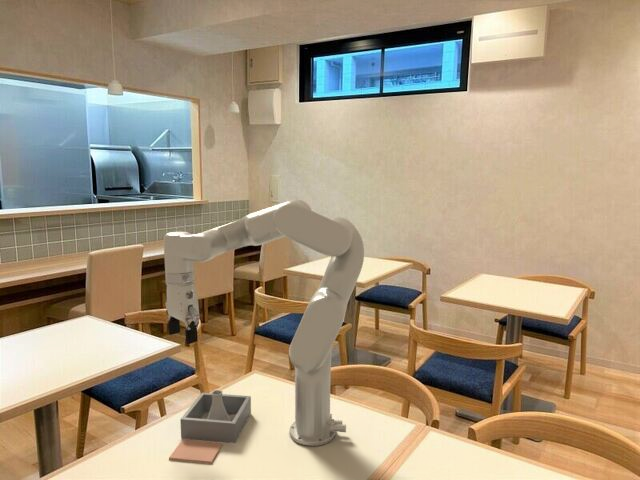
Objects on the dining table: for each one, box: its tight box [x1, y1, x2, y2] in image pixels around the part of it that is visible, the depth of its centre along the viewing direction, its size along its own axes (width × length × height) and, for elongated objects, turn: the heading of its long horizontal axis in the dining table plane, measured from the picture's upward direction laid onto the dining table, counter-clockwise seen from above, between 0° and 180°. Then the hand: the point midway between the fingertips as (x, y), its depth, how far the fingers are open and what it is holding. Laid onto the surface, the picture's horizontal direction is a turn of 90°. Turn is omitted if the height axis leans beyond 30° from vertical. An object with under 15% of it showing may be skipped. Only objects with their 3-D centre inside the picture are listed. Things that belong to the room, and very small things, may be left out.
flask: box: [206, 389, 231, 421], centre depth 130 cm, size 7×7×10 cm
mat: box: [168, 438, 224, 465], centre depth 119 cm, size 11×8×1 cm
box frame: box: [179, 392, 252, 444], centre depth 131 cm, size 15×15×6 cm
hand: (182, 338), depth 128 cm, fingers open, 9 cm apart
